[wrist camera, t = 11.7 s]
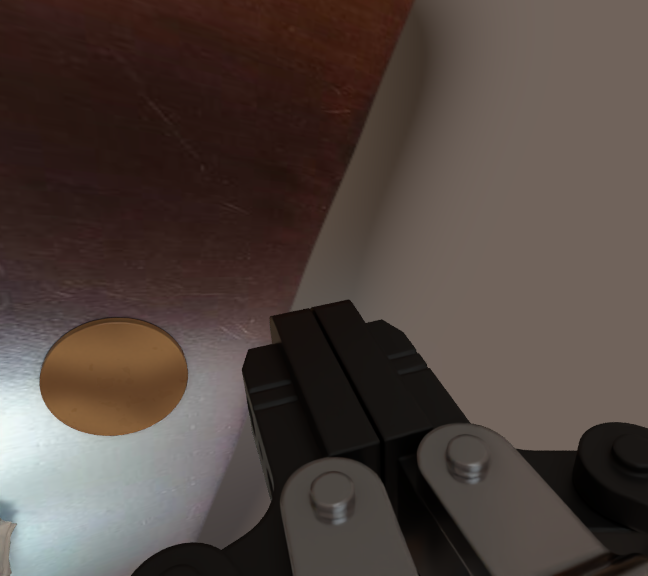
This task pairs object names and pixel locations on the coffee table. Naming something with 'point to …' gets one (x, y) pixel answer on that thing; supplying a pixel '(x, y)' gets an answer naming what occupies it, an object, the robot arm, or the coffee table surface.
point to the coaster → (113, 376)
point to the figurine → (5, 546)
